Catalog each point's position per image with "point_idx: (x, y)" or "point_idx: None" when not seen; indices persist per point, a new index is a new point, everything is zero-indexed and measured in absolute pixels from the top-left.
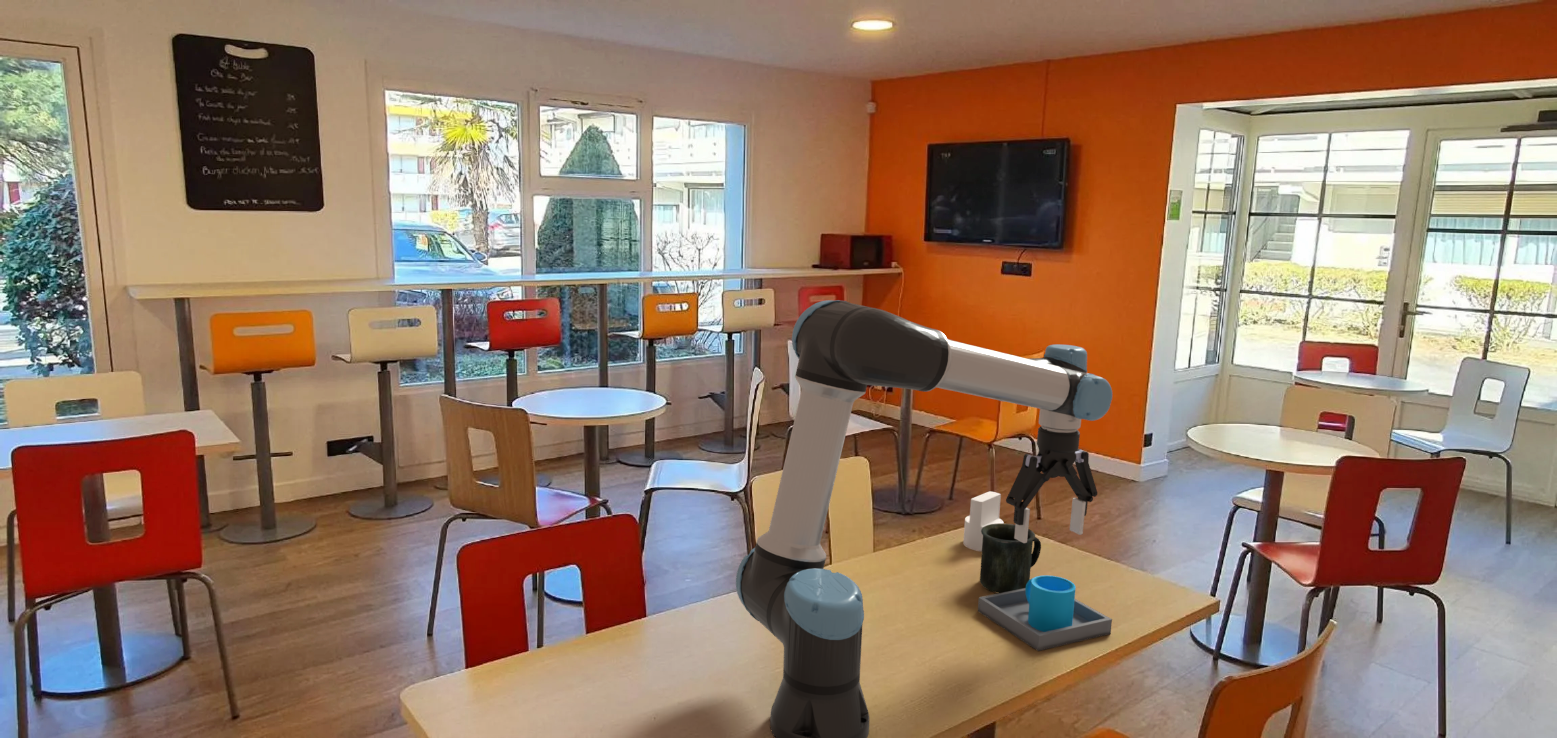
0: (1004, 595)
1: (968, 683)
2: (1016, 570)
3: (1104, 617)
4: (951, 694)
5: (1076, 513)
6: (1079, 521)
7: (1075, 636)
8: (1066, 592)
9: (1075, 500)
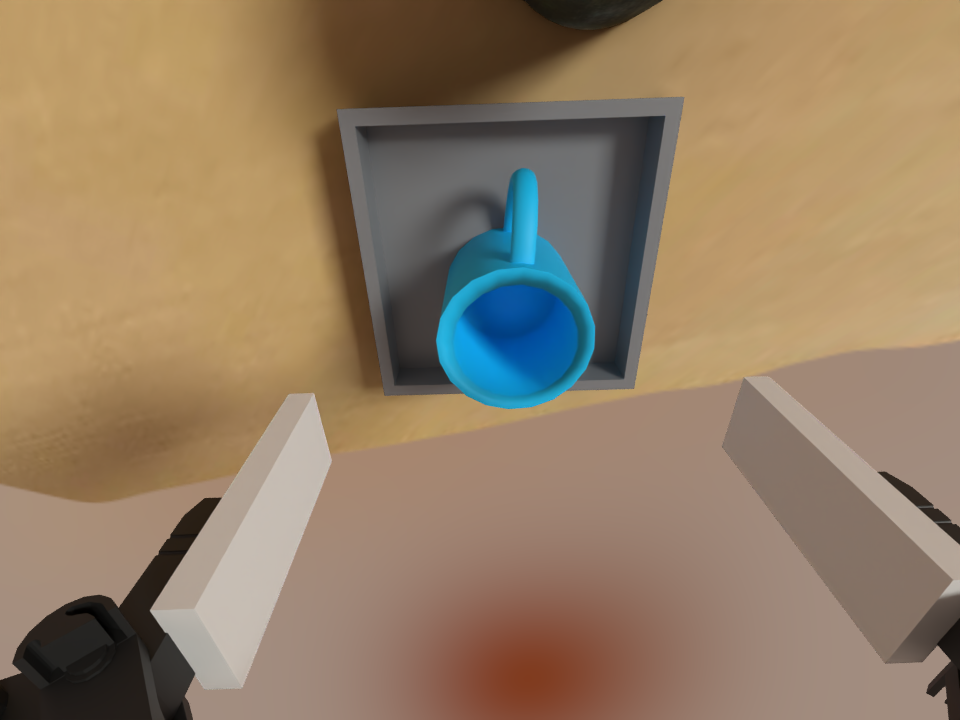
0: (451, 122)
1: (171, 424)
2: (587, 8)
3: (624, 375)
4: (123, 443)
5: (816, 510)
6: (772, 497)
7: None
8: (507, 408)
9: (918, 593)
